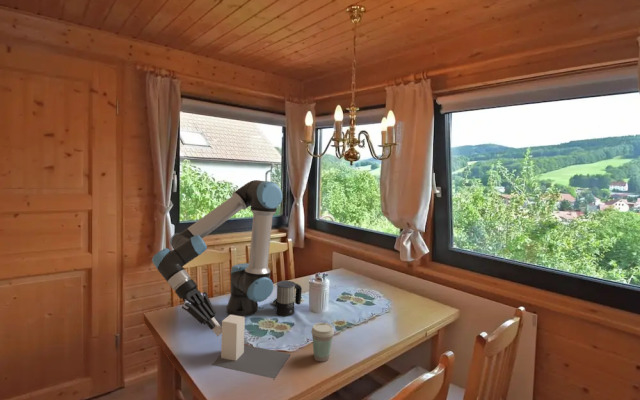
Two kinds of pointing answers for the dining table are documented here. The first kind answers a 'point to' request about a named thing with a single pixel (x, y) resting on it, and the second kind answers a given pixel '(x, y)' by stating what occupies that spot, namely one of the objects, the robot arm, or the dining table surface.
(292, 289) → the milk frother
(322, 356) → the coffee cup
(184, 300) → the robot arm
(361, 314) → the dining table surface
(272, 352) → the charcoal mat
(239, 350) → the cream block
